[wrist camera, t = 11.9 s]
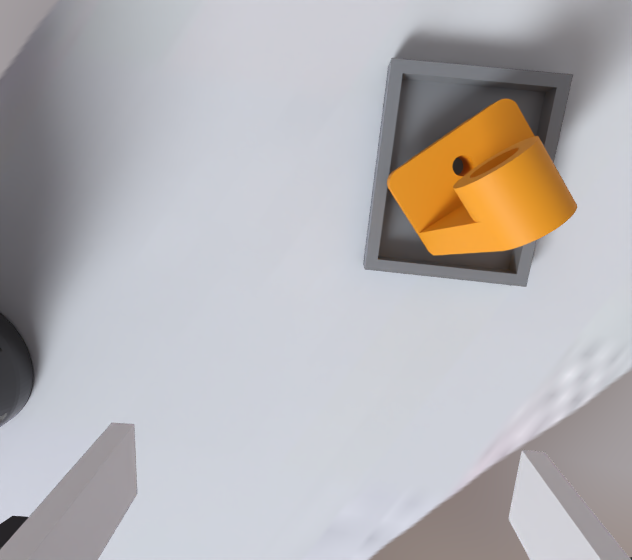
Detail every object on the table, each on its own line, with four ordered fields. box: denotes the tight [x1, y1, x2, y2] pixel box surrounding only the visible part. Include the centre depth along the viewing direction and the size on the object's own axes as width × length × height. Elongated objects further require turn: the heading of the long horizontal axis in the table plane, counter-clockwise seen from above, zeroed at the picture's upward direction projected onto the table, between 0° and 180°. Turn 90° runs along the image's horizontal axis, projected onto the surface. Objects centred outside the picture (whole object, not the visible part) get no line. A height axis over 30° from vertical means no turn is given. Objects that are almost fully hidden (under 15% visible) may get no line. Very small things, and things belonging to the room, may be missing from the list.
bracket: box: [387, 99, 577, 255], centre depth 29 cm, size 11×7×12 cm, turn 125°
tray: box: [363, 58, 573, 287], centre depth 36 cm, size 14×17×2 cm
